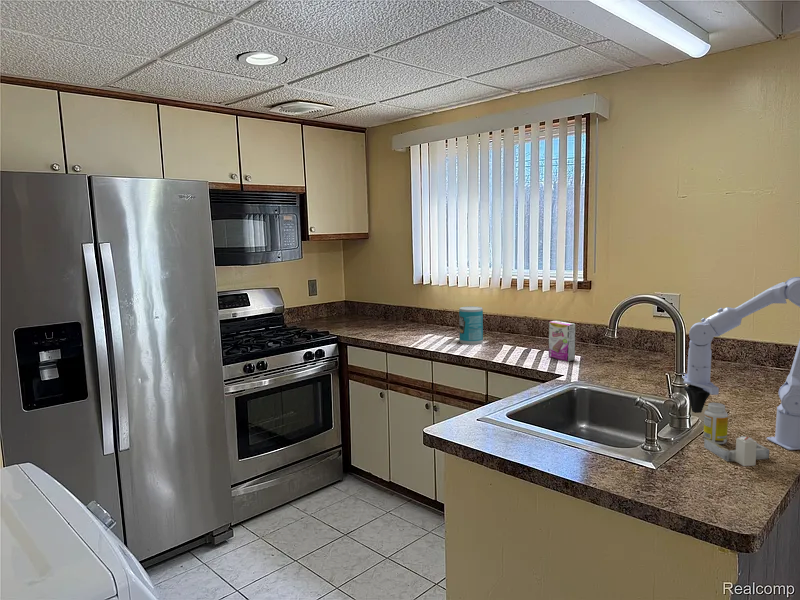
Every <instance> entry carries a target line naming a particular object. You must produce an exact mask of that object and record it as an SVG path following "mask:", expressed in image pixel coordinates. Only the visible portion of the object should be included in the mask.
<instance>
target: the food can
mask: <svg viewBox="0 0 800 600" xmlns="http://www.w3.org/2000/svg"><path fill="white" fill-rule="evenodd" d="M458 309H459V310H458V311H459V312H458V313H459V316H458V319H459V321H458V322H459V323H458V324H459V326H458V327H459V331H458V333H459V343H460V344H462V345H470V346H472V345H473V346H475V345H481V344H483V341H484V320H483V319H484V317H483V315H484V310H483V307H481V306H473V305H472V306H461V307H459V308H458Z"/></svg>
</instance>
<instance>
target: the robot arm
mask: <svg viewBox="0 0 800 600" xmlns="http://www.w3.org/2000/svg"><path fill="white" fill-rule="evenodd" d="M787 300H789V302H790V303H792V304H794V305H795V306H797V307H799V308H800V276H794V277H790V278H788V279H787V280H786V281H785V282H784V281H783V282H779V283H777V284H775V285H772V286H771V287H769V288H767V289H766V290H763V291H762V292H760V293H759V294H757V295H755V296H754V297H751V298H750V299H748V300H747V301H745V302H743V303H742V304H740V305H738V306H737V307H729V306H728V307H719V308H718V309H717V310H716V311H717V312H715V313H714V314H711V315H710V316H708V317H706V318H705V317H702V318H701V319H700V321H699V322H696V323H694V324H692V326H691V327H690V328H689V330H688V336H689V341H688V342H689V343H688V347H689V348H688V353H687V355H688V356H687V373H684V374H685V376H683V375H682V378H683V379H684V381H682V382H683V384H685V386H684V391H685V393H686V394H687V396H688V400H689V403H690V408H691V412H692V413H695V414H697V413H699V414H700V413H702V412H703V409H704V407H705V404H706V401H707V399H708V398H709V397H710V395H712V396H713V395H714V396H716V395H719V394H720V393H719V392H720V391H719V390H720V387H718V386H717V385H715V384H714V383H713V382H712V381H711V370H712V352H713V351H712V348H711V347H712V342H713V339H714V337H717V338H718V337H720V336H722V335H724V334H726V333H727V332H729V331H732V330H733V329H735V328H737V327H739V326H741V324H742V320H743V318H746V317H748V316H749V315H752V314H754V313H756V312H758V311H760V310H761V309H764V308H766V307H768V306H770V305H772V304H785V305H786V304H787ZM778 398H779V399H780V400H781V401H780V404H779V405H778V406H777V407H776V419H775V432H774V434H775V435H774V436H767V437H766V440H768V441H770V442H772V443H774V444H777V445H779V446H780V447H782V448H784V449H786V450H788V451H796V450H800V339H799V341H798V344H797V348H796V351H795V355H794V358H793V361H792V365H791V368H790V371H789V373H788V375H787V377H786V380H785V382H784V383H783V384H782V385H781V386H780V387H779V389H778Z"/></svg>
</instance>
